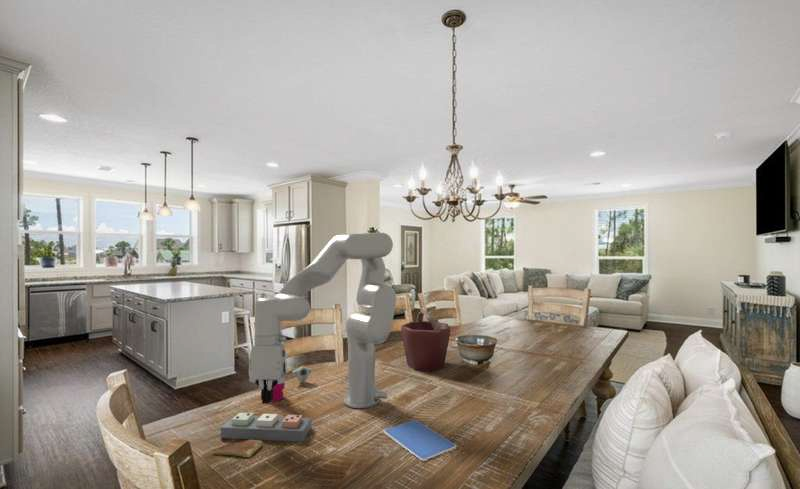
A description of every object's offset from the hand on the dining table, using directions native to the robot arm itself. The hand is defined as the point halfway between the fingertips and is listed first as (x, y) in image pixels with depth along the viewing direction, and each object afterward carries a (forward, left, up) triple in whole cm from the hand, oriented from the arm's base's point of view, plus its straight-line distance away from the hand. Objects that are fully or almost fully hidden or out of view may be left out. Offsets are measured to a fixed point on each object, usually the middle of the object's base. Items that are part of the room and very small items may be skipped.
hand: (267, 402), depth 111 cm
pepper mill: (+8, -25, -9) cm, 28 cm away
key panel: (0, 0, -9) cm, 9 cm away
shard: (+3, +11, -10) cm, 15 cm away
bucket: (-46, -68, -9) cm, 83 cm away
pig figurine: (+3, -41, -9) cm, 42 cm away
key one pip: (0, 0, -7) cm, 7 cm away
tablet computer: (-45, 0, -10) cm, 46 cm away
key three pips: (-8, 0, -6) cm, 10 cm away
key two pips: (+7, 0, -6) cm, 10 cm away
